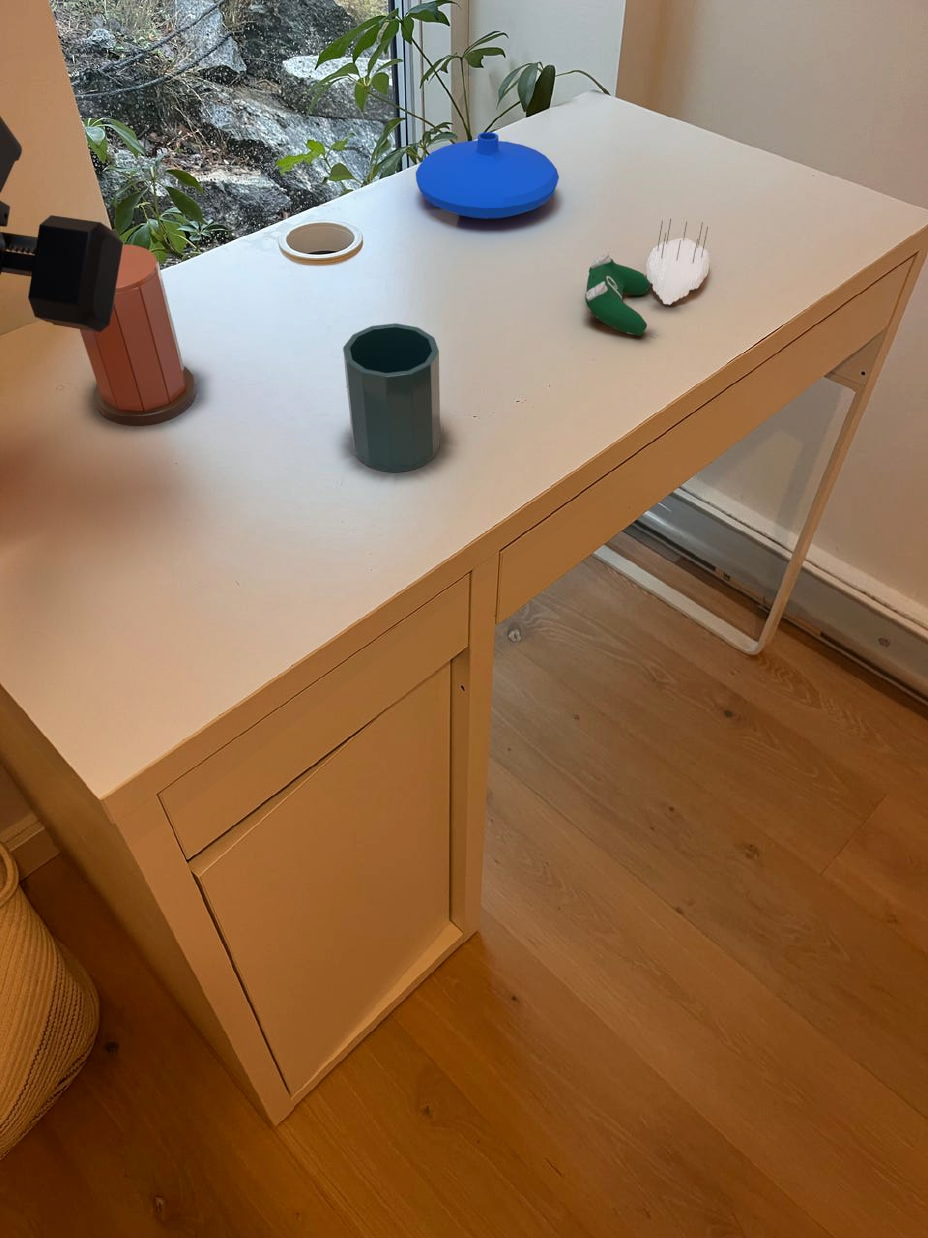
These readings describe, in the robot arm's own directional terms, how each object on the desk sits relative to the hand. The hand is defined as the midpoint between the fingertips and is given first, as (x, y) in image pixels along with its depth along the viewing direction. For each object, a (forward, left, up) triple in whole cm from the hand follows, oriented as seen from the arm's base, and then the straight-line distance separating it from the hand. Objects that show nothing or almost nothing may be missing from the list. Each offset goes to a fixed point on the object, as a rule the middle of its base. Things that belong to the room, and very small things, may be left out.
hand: (53, 296), depth 69 cm
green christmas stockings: (+47, +12, -14) cm, 51 cm away
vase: (+40, +37, -14) cm, 56 cm away
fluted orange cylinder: (+3, +7, -12) cm, 15 cm away
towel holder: (+3, +7, -13) cm, 15 cm away
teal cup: (+23, -4, -13) cm, 27 cm away
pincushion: (+55, +17, -14) cm, 59 cm away
